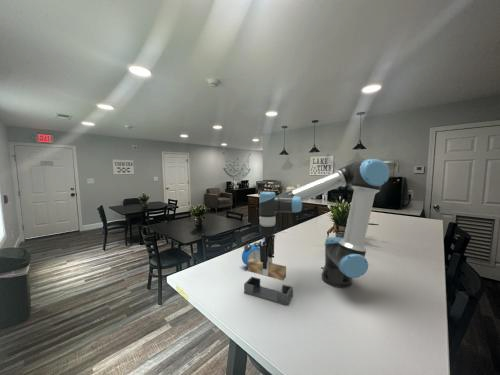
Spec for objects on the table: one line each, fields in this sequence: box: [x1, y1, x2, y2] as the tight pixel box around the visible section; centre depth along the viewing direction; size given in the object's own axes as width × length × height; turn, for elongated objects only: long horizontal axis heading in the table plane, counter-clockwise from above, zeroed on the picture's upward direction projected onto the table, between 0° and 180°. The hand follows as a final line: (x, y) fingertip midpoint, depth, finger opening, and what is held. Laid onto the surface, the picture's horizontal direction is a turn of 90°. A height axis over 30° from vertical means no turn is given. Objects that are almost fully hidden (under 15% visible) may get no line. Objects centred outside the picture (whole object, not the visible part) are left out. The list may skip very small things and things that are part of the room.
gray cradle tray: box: [243, 276, 294, 307], centre depth 96 cm, size 22×8×5 cm, turn 62°
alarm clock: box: [241, 242, 260, 267], centre depth 126 cm, size 13×6×15 cm, turn 119°
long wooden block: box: [247, 258, 287, 282], centre depth 96 cm, size 18×4×5 cm, turn 62°
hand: (267, 272), depth 96 cm, fingers closed on long wooden block, 4 cm apart
